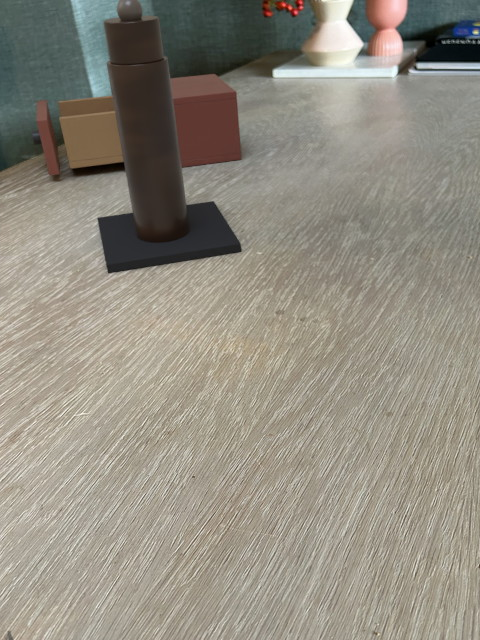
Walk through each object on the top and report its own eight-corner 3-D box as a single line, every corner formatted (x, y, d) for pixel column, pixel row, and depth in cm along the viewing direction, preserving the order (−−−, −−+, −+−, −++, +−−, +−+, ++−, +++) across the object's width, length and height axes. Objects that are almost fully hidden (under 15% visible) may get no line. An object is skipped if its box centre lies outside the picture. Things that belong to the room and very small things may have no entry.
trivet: (108, 273, 58) (106, 264, 58) (98, 225, 68) (97, 217, 68) (241, 251, 61) (240, 243, 60) (214, 208, 71) (213, 200, 70)
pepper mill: (139, 246, 61) (97, 1, 50) (133, 226, 65) (93, -4, 54) (194, 237, 62) (163, -4, 51) (184, 219, 66) (155, -9, 55)
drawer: (39, 177, 79) (25, 121, 76) (39, 151, 88) (27, 101, 85) (154, 162, 82) (146, 108, 79) (143, 139, 91) (135, 90, 88)
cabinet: (133, 173, 82) (121, 103, 77) (123, 147, 92) (112, 84, 87) (241, 159, 85) (236, 91, 80) (220, 135, 95) (214, 73, 90)
